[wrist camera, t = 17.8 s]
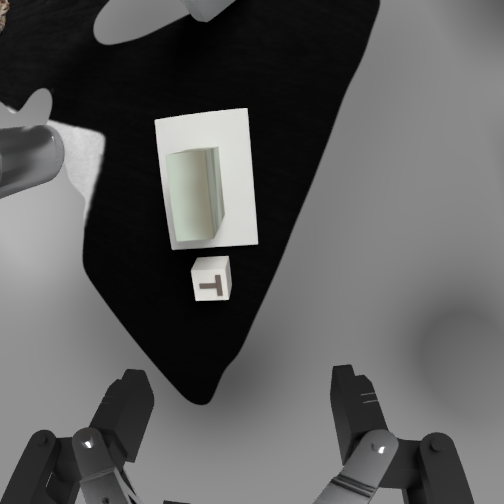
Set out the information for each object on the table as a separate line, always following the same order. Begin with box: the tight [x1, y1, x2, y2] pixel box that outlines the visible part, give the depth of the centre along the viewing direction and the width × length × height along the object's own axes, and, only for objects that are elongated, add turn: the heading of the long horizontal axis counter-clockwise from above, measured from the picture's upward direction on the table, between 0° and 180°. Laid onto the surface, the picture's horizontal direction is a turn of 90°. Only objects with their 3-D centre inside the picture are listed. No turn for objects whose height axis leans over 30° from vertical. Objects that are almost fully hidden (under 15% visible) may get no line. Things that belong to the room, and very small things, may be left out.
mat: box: [155, 108, 258, 250], centre depth 41 cm, size 12×18×1 cm, turn 4°
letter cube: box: [191, 256, 232, 301], centre depth 44 cm, size 4×4×5 cm
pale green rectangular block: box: [165, 146, 225, 241], centre depth 36 cm, size 4×9×10 cm, turn 4°
